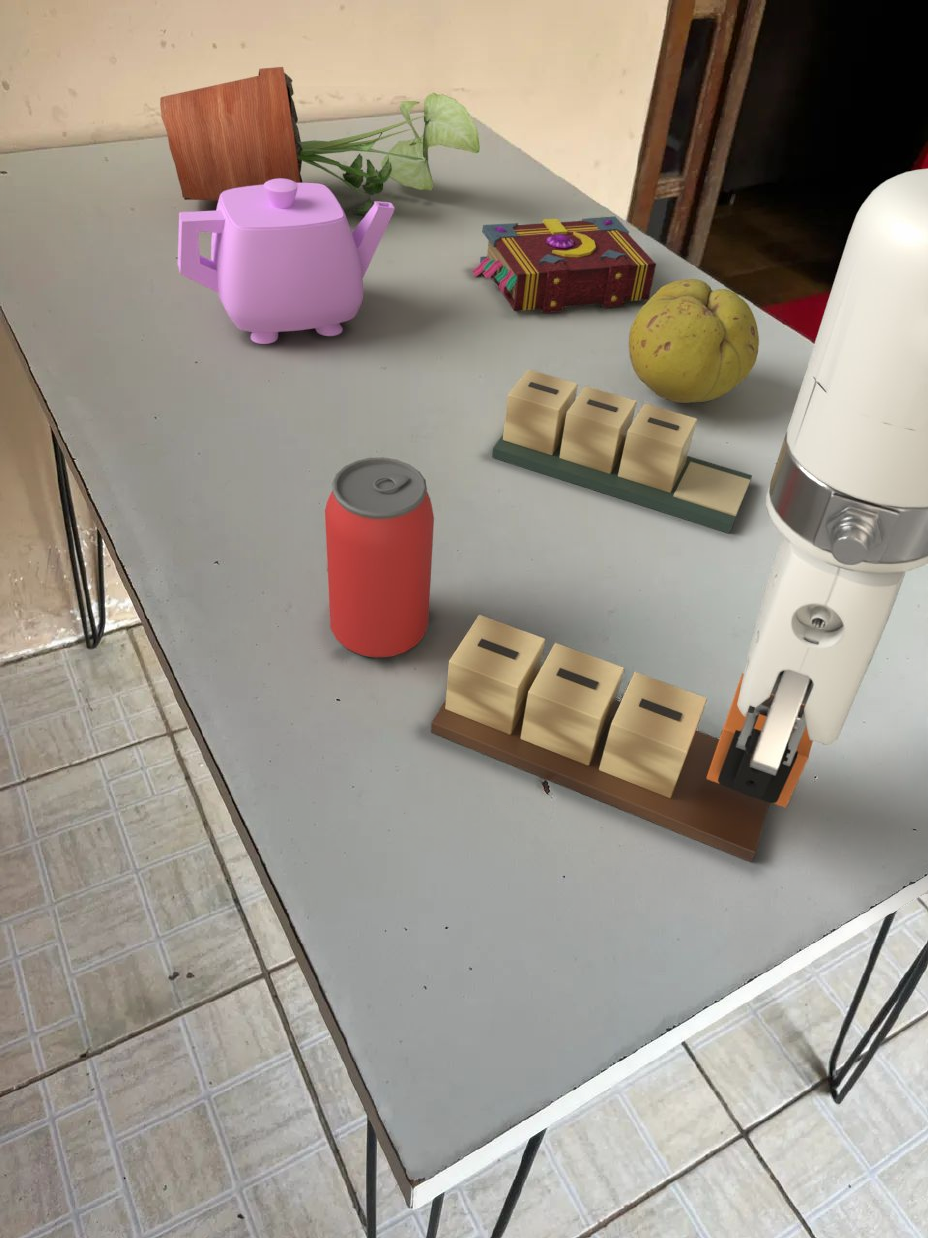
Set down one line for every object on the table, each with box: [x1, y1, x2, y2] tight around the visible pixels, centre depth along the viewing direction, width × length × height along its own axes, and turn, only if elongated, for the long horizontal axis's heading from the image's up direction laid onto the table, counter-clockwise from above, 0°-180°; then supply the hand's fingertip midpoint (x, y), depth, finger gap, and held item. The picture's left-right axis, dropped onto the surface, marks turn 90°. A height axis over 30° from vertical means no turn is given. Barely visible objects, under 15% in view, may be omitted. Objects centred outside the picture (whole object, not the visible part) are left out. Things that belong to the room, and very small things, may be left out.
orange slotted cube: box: [706, 672, 814, 808], centre depth 53 cm, size 4×4×4 cm
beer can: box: [324, 457, 435, 659], centre depth 62 cm, size 7×7×12 cm
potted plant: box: [159, 66, 481, 216], centre depth 109 cm, size 16×15×35 cm
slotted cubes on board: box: [430, 614, 771, 862], centre depth 58 cm, size 20×7×6 cm, turn 65°
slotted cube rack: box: [491, 369, 753, 534], centre depth 78 cm, size 20×7×6 cm, turn 65°
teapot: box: [177, 178, 395, 345], centre depth 90 cm, size 20×12×13 cm, turn 110°
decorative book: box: [471, 215, 657, 314], centre depth 101 cm, size 11×16×5 cm
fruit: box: [628, 278, 760, 404], centre depth 85 cm, size 11×12×10 cm
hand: (758, 753), depth 54 cm, fingers closed on orange slotted cube, 4 cm apart
